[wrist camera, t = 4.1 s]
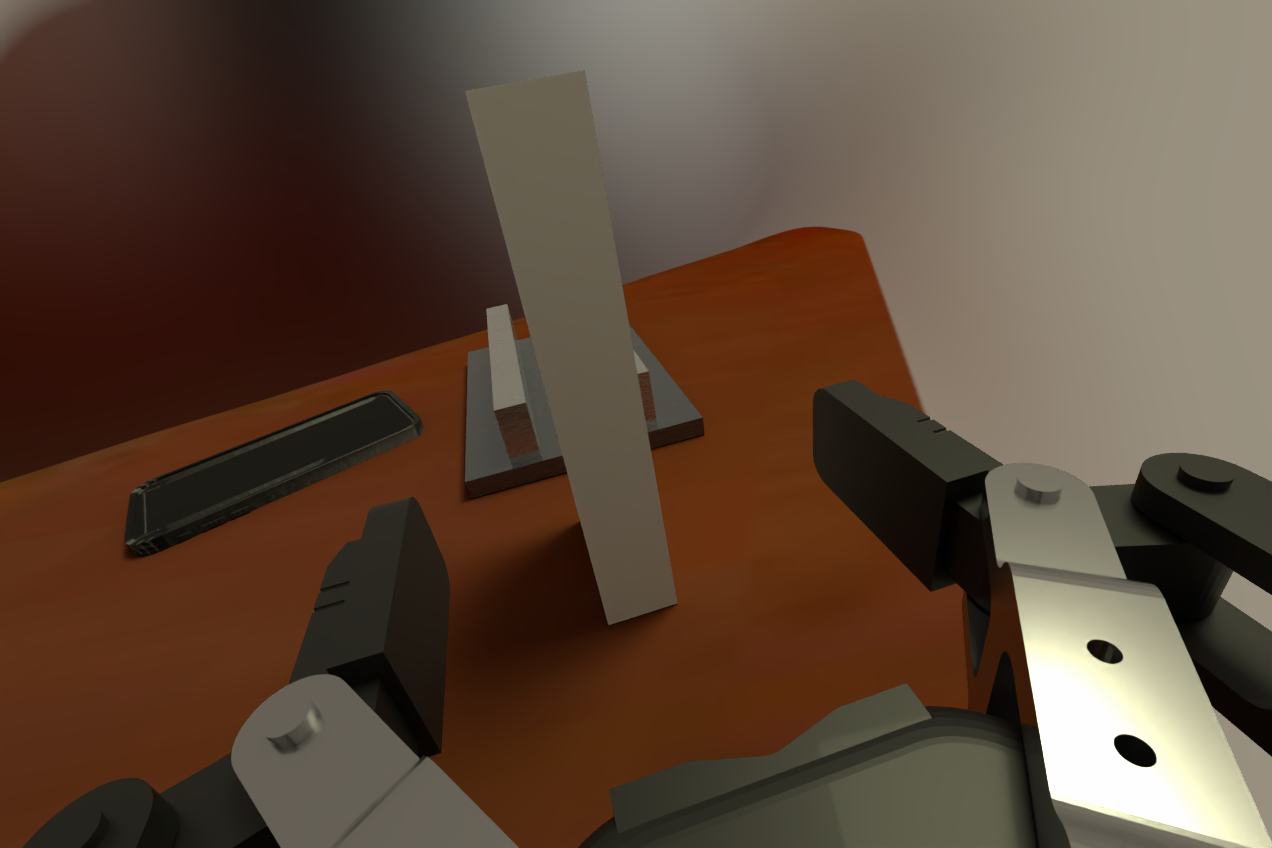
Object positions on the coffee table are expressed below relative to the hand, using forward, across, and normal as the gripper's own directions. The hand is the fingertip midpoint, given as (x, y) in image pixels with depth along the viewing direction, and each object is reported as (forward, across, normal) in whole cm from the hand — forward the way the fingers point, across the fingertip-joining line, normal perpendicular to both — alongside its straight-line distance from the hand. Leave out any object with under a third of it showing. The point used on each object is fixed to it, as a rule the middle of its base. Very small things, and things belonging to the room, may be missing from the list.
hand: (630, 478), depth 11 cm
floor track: (+24, 0, +9) cm, 25 cm away
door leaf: (+8, 0, +9) cm, 12 cm away
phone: (+24, +17, +10) cm, 30 cm away
